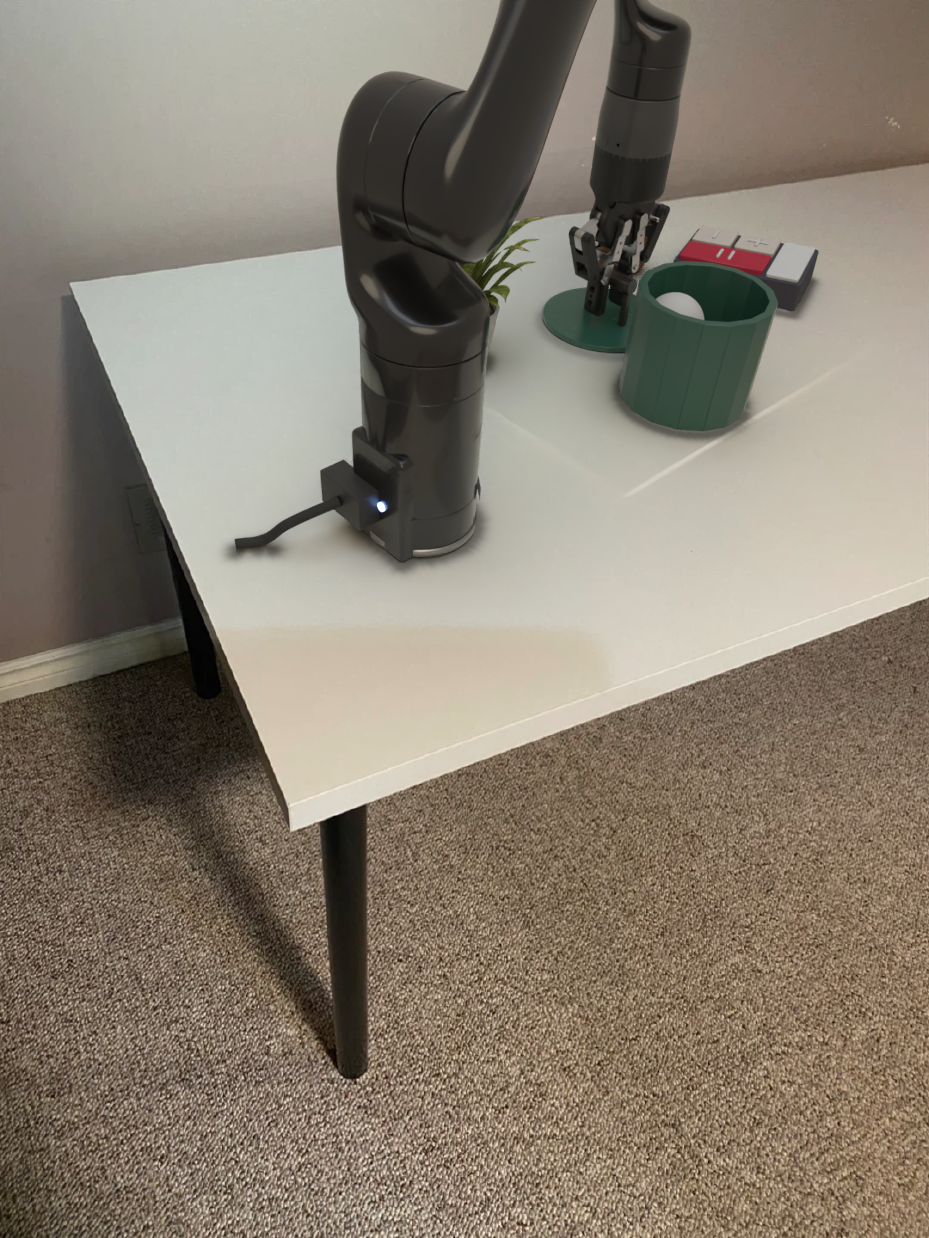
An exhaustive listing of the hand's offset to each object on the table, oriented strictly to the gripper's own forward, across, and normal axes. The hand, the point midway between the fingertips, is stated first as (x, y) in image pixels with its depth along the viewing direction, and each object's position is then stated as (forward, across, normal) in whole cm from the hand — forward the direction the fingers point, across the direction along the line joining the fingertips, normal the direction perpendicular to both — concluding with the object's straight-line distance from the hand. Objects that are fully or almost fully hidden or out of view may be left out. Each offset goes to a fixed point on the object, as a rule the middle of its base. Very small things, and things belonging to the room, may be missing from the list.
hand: (606, 307), depth 102 cm
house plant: (+2, -17, +3) cm, 17 cm away
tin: (+2, -5, -15) cm, 16 cm away
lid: (+2, 0, 0) cm, 2 cm away
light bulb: (+2, -5, -14) cm, 16 cm away
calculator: (+2, +22, -3) cm, 22 cm away
